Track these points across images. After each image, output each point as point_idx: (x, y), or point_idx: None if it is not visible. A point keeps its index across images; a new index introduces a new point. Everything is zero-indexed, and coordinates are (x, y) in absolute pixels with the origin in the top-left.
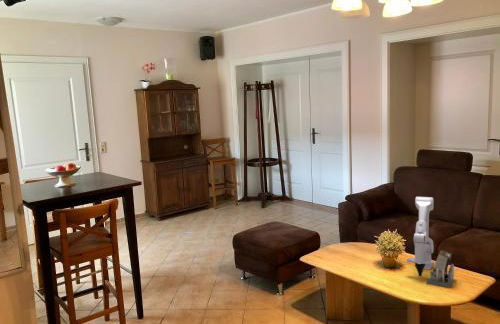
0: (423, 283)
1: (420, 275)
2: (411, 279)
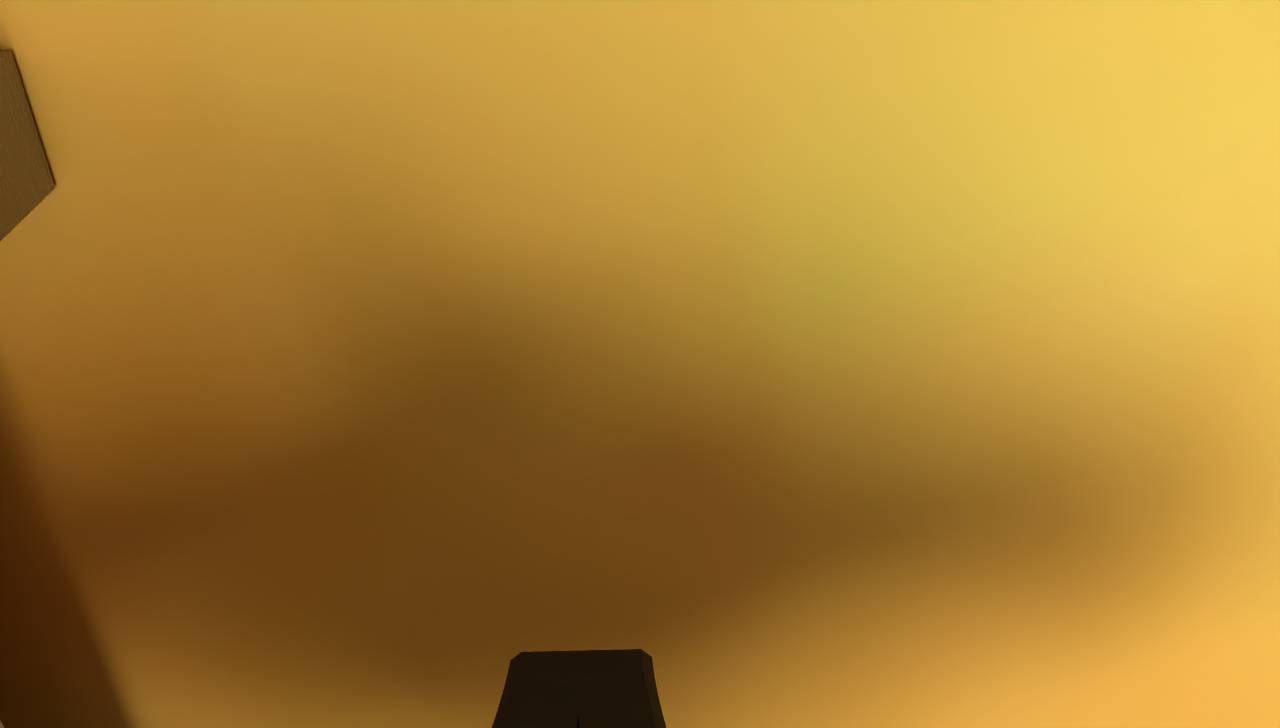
0: (210, 41)
1: (546, 686)
2: (996, 304)
